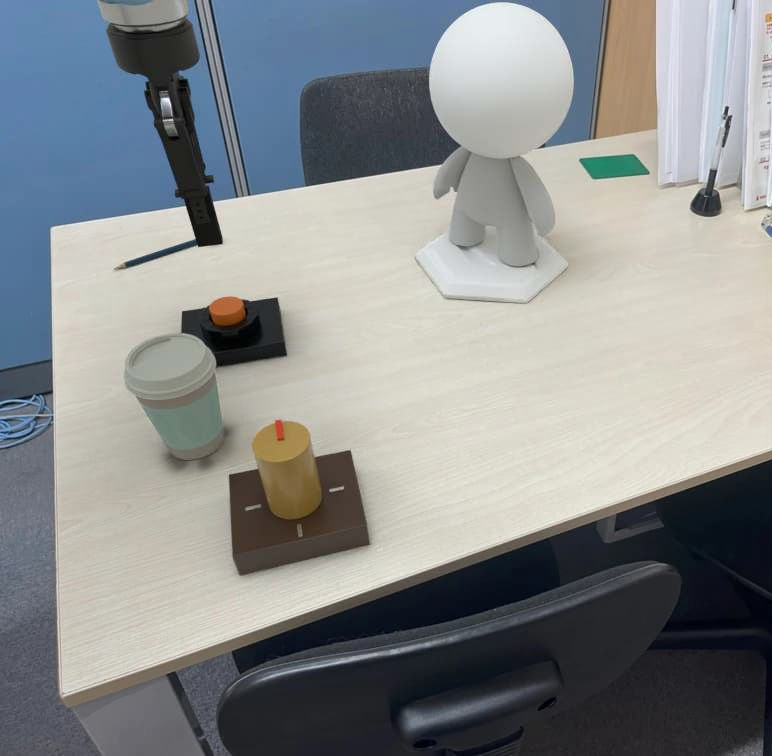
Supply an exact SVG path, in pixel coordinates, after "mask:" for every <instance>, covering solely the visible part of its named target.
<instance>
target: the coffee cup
mask: <svg viewBox="0 0 772 756" xmlns="http://www.w3.org/2000/svg"><path fill="white" fill-rule="evenodd" d="M216 368H217V367H216V359H215V357H214V355H213V353H212V352H211V350H210V349H209V348H208V347H207V346H206V345H205V344H204V343H203V341H202V340H200V339H199V338H197V337H195V336H193V335H190V334H185V333H181V332H170V333H164V334H158V335H155V336H153V337H149V338H147V339H145V340H144V341H142V342H140V343H139V344H137V345H136V346H134V347H133V348H132V349H131V350H130V351H129V353H128V354H127V356H126V357H125V360H124V369H123V379H124V380H123V381H124V385H125V388H126V390H128V391H129V393H131V394H132V395H134V396H135V397H136V400H137V401H138V403H139V404H140V406H141V408H142V409H143V411H144V412H145V415H146V416H147V417H148V419H149V421H150V423H151V424H152V426H153V427H154V429H155V430H156V432H157V434H158V435H159V437H160V439H161V440H162V442H163V443H164V445H165V447H166V448H167V450H168V452H169V453H170V454H171V455H172V456H173V457H174V458H176V459H178V460H183V461H195V460H199V459H203V458H205V457H208V456H211V454H213V453H214V452H216V451H217V450H218V449H219V448H220V447H221V446H222V445H223V442H224V440H225V430H224V422H223V416H222V410H221V402H220V396H219V389H218V383H217V376H216Z"/></svg>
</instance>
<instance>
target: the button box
mask: <svg viewBox="0 0 772 756" xmlns="http://www.w3.org/2000/svg"><path fill="white" fill-rule="evenodd" d="M240 299H241V300H242V301H243V305H244V308H245V312H246V317H245V319H244V320H242V321H240V322H238V323H236V324H234V325H227V326H220V325H216V324H215V323H214V322H213V321H212V317H211V314H210V311H209V306H210V304H209V305H207V306H206V307H202V308H194V309H188V310H182V311H181V322H180V325H181V326H180V327H181V328H180V333H185V334H190V335H193V336H195V337H197V338H199V339H200V340H202V341H203V343H204V344H205V345H206V346H207V347H208V348H209V349H210V350H211V352H212V353H213V355H214V357H215V359H216V368H220V367H221V368H222V367H227V366H232V365H237V364H243V363H245V364H246V363H249V362H250V363H251V362H257V361H262V360H269V359H274V358H279V357H286V356H288V352H287V351H288V350H287V345H286V338H285V331H284V326H283V318H282V310H281V306H280V301H279V297H270V298H263V299H256V300H249V299H243V298H240Z"/></svg>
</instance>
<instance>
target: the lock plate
mask: <svg viewBox="0 0 772 756" xmlns="http://www.w3.org/2000/svg"><path fill="white" fill-rule="evenodd" d="M315 461H316V466H317V470H318V475H319V480H320V485H321V489H322V500H321V503H320V504H319V506H318V507H317V508H316V510H315V511H313V512H312V513H311V514H309V515H307V516H305V517H302V518H299V519H283V518H280V517H278V516H276V515H275V514H273V513H272V511H271V510H270V508H269V504H268V501H267V498H266V494H265V491H264V487H263V484H262V480H261V477H260V474H259V470H258V468H254V469H251V470H245V471H239V472H235V473H229V474H228V483H229V484H228V486H229V487H228V489H229V506H230V507H229V513H230V514H229V515H230V532H231V533H230V535H231V556H232V557H231V558H232V559H233V562H234V565H235V567H236V571H237V573H238V575H239V576H243V575H248V574H251V573H255V572H260V571H264V570H269V569H273V568H276V567H280V566H285V565H290V564H294V563H297V562H301V561H302V562H303V561H305V560H306V561H307V560H310V559H314V558H318V557H323V556H327V555H331V554H336V553H339V552H344V551H348V550H352V549H357V548H361V547H365V546H368V545H371V542H370V541H371V540H370V534H369V528H368V522H367V518H366V513H365V509H364V504H363V500H362V495H361V489H360V486H359V482H358V481H359V480H358V477H357V472H356V467H355V463H354V459H353V453H352V450H351V449H348V450H347V449H346V450H343V451H338V452H333V453H332V452H331V453H328V454H323V455H318V456H315Z"/></svg>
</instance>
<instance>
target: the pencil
mask: <svg viewBox="0 0 772 756" xmlns="http://www.w3.org/2000/svg"><path fill="white" fill-rule="evenodd" d="M194 246H197V242H196V239H195V238H194V239H191V240H188V241H184V242H182V243H179V244H176V245H173V246H169V247H167V248H163V249H161V250H157V251H154V252H151V253H148V254H144V255H141V256H139V257H136V258H133V259H131V260H128V261H125V262H122V263H121V264H119V265H117V266H116V267H115V268H113V271H114V270H123V269H128V268H131V267H134V266H138V265H140V264H143V263H147V262H150V261H153V260H156V259H159V258H162V257H164V256H169V255H171V254H174V253H177V252H180V251H182V250H186V249H189V248H192V247H194Z"/></svg>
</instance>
